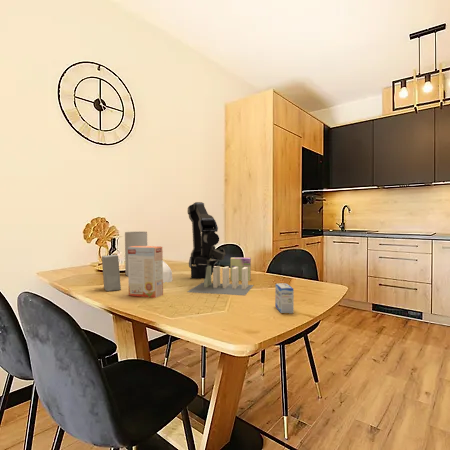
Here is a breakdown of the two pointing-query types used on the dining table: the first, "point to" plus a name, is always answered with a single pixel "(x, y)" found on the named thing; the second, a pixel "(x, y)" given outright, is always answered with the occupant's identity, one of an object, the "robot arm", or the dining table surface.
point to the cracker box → (145, 271)
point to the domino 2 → (216, 276)
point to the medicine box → (284, 298)
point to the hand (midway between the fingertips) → (207, 276)
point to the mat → (221, 289)
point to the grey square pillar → (133, 243)
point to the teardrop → (166, 273)
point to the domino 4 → (235, 278)
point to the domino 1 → (207, 277)
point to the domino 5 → (244, 277)
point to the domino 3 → (225, 276)
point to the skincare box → (111, 272)
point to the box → (240, 266)
